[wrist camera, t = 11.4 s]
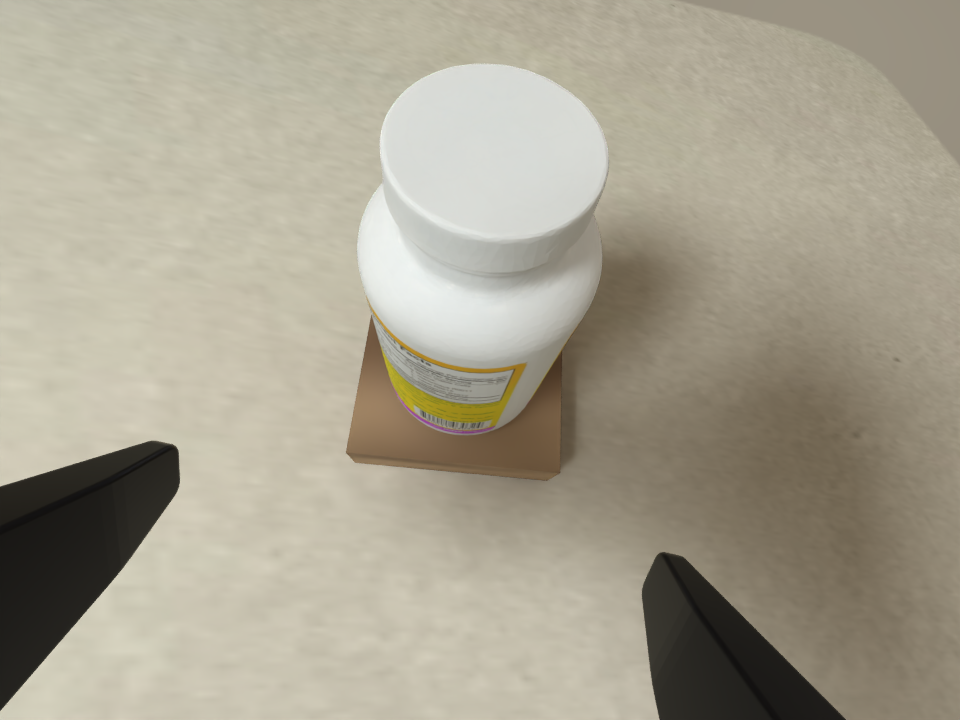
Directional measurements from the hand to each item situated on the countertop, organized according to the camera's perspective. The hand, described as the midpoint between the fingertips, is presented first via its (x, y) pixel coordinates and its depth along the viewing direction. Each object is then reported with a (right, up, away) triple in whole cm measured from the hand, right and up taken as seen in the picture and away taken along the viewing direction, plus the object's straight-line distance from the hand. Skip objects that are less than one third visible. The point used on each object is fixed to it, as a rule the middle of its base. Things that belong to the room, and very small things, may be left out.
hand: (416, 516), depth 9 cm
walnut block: (0, +2, +15) cm, 15 cm away
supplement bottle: (0, +2, +13) cm, 13 cm away
